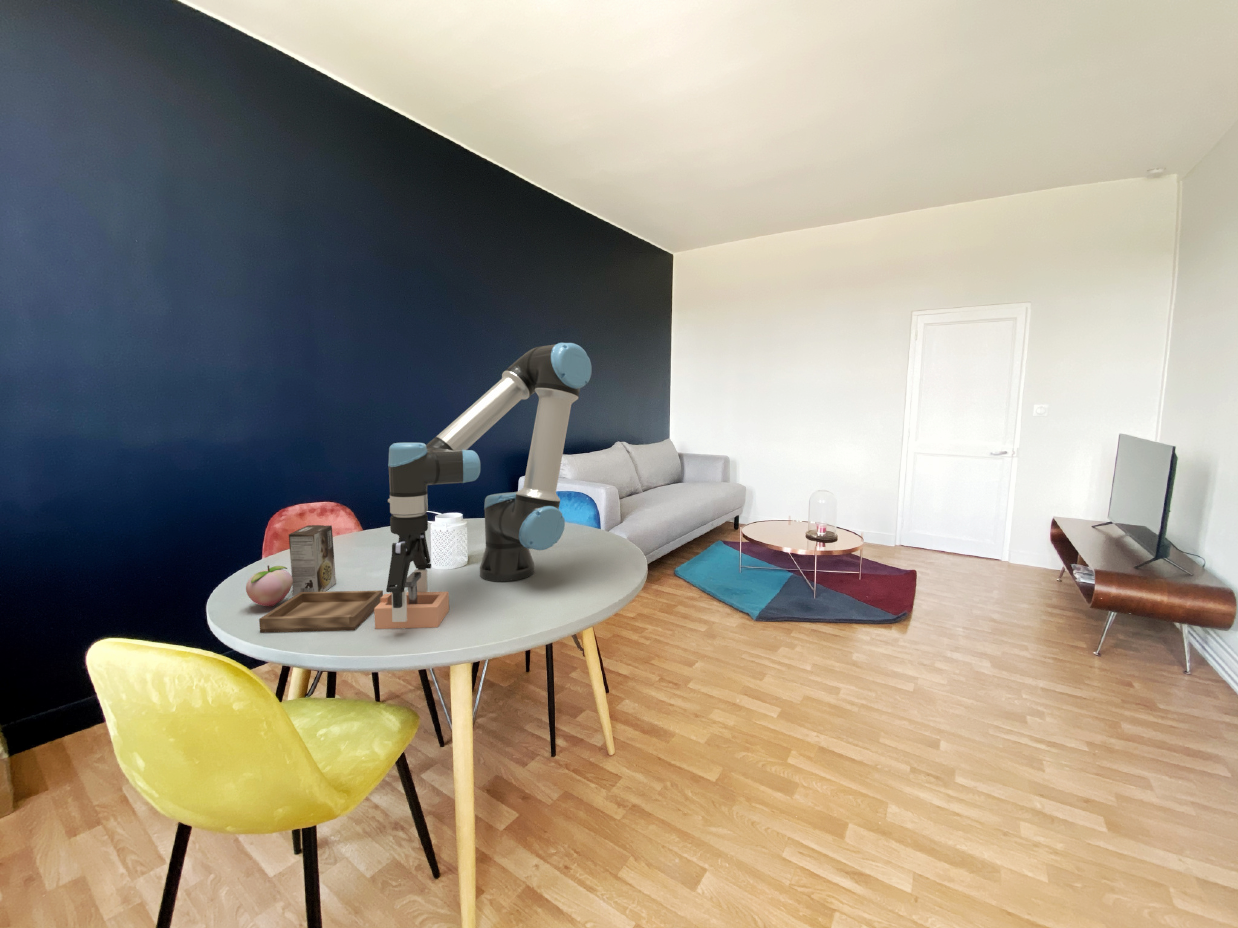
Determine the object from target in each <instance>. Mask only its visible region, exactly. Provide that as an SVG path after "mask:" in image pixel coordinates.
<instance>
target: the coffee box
mask: <svg viewBox="0 0 1238 928" xmlns="http://www.w3.org/2000/svg"><path fill="white" fill-rule="evenodd" d="M288 542H289V543H288V545H289V558H290V569H291V576H292V578H293V584H292V597H294V596H295V595H297V594H298V593H300V592H328V591H329V589H331V588H332V587H333V586H335V585H336V584H337V579H336V567H335V551H334V536H333V525H323V524H322V525H321V524H319V525H318V524H316V525H315V524H313V525H312V524H310V525H309V524H308V525H306V526H304V527H301V528H299V529H297V530H295V531H293V532H290V533H289V534H288Z"/></svg>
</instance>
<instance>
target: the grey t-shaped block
mask: <svg viewBox="0 0 1238 928" xmlns="http://www.w3.org/2000/svg"><path fill="white" fill-rule="evenodd" d="M420 578H421V572H414V571H413V572H411V573H410V575H409V574H408V575H407V580H406V584H405V589H406V588H407V592H408V598H409V605H410V604H418V602H417V581H418V580H419V579H420Z"/></svg>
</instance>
